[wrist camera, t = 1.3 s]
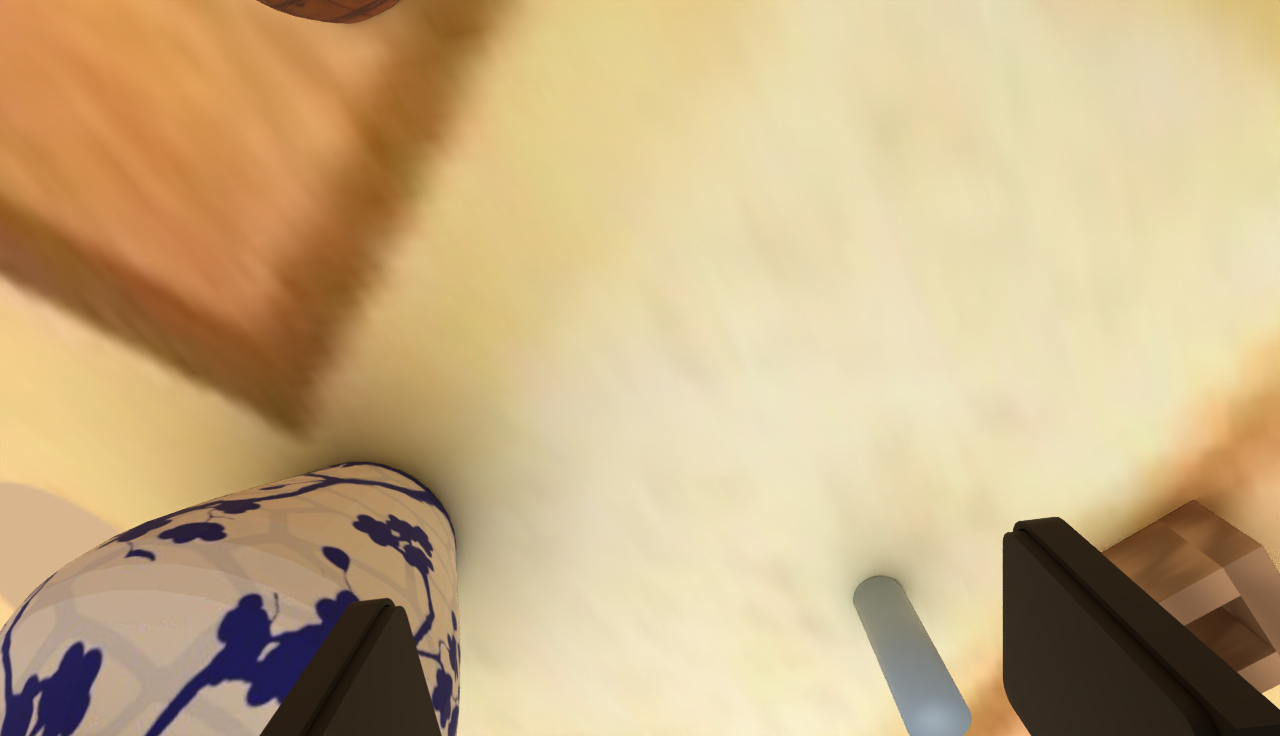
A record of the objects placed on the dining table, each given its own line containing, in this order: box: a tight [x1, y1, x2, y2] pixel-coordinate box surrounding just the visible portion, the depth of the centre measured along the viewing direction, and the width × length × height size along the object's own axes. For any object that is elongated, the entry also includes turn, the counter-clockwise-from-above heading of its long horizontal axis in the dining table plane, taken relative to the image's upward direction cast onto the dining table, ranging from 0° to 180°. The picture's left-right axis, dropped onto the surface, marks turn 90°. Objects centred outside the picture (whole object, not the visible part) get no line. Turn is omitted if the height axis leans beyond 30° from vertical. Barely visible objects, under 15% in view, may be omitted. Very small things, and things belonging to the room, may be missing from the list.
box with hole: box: [1102, 500, 1280, 693], centre depth 41 cm, size 9×9×5 cm
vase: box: [0, 462, 461, 736], centre depth 30 cm, size 19×19×30 cm
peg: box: [854, 576, 971, 736], centre depth 39 cm, size 3×3×10 cm
